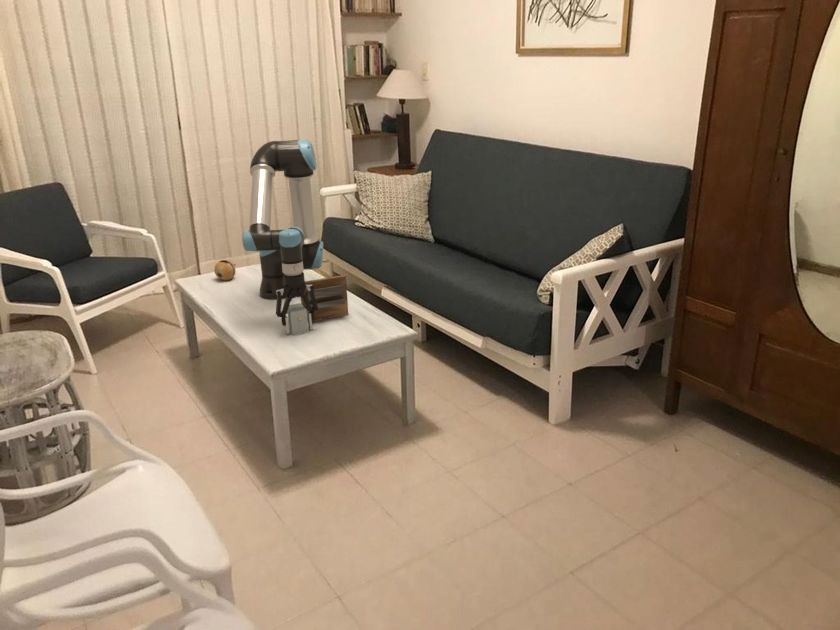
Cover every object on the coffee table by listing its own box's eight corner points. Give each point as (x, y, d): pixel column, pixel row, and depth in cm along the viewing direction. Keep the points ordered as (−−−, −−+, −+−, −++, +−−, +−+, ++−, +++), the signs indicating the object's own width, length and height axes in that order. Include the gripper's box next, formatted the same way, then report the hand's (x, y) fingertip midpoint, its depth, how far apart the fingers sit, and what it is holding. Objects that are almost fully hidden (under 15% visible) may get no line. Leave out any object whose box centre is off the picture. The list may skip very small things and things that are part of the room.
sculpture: (206, 267, 306) (224, 250, 318) (209, 283, 312) (227, 266, 323) (224, 271, 304) (242, 254, 315) (227, 288, 310) (244, 271, 321)
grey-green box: (287, 327, 260) (285, 305, 256) (302, 325, 262) (300, 303, 258) (293, 336, 252) (291, 313, 249) (309, 333, 254) (307, 310, 251)
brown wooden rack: (300, 318, 268) (296, 279, 262) (344, 310, 275) (341, 272, 269) (306, 325, 261) (302, 285, 255) (351, 317, 268) (348, 278, 262)
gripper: (266, 280, 240) (273, 339, 249) (324, 271, 248) (328, 329, 257) (262, 274, 247) (268, 332, 255) (318, 265, 255) (323, 322, 263)
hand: (298, 330), depth 256 cm, fingers open, 8 cm apart
